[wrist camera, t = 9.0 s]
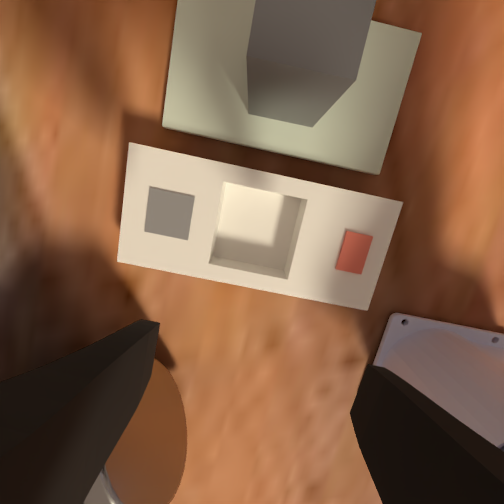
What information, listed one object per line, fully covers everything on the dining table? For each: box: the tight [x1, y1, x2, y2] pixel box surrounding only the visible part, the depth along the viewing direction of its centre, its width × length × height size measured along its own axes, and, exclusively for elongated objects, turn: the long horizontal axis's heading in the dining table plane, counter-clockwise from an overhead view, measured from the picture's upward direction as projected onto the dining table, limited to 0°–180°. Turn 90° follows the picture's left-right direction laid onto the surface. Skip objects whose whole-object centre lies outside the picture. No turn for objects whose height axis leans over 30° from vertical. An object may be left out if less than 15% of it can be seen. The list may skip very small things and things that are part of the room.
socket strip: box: [117, 142, 403, 311], centre depth 17 cm, size 16×7×3 cm, turn 78°
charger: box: [246, 0, 376, 127], centre depth 12 cm, size 4×4×7 cm
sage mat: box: [162, 0, 422, 175], centre depth 16 cm, size 14×8×1 cm, turn 78°
